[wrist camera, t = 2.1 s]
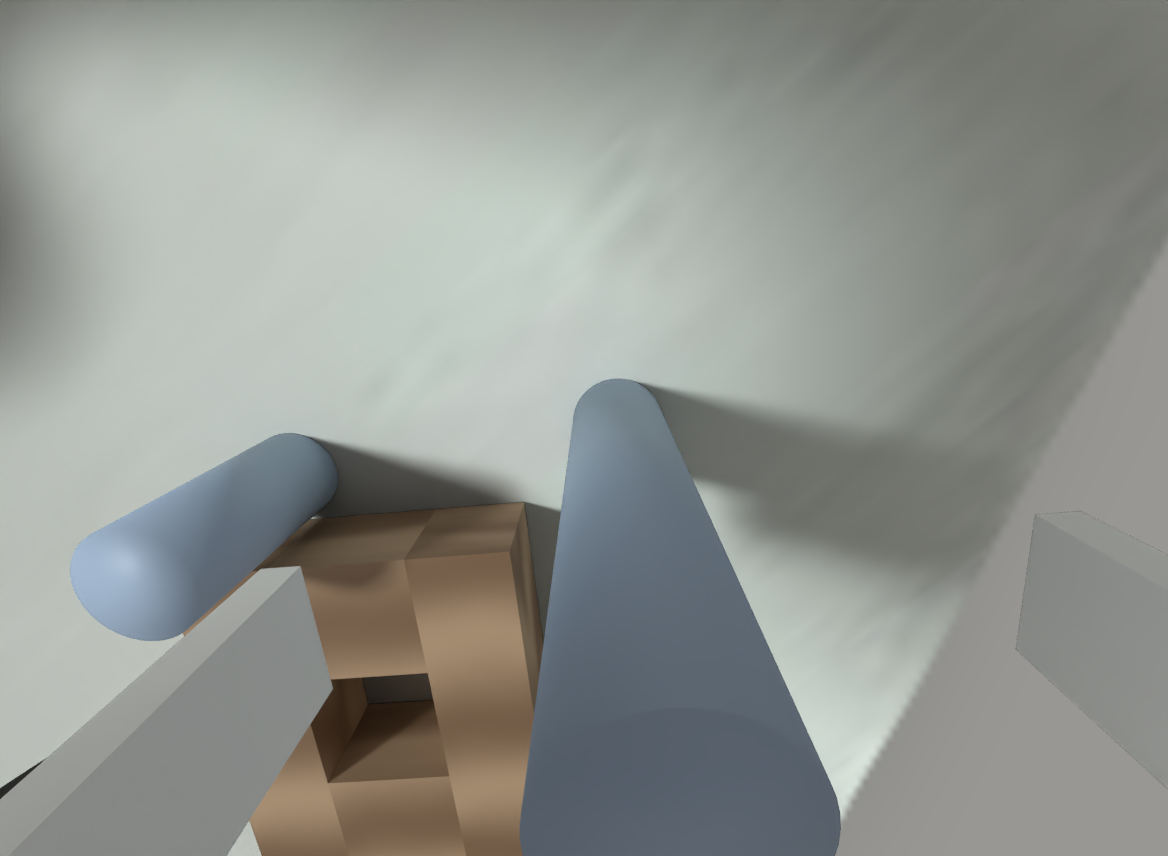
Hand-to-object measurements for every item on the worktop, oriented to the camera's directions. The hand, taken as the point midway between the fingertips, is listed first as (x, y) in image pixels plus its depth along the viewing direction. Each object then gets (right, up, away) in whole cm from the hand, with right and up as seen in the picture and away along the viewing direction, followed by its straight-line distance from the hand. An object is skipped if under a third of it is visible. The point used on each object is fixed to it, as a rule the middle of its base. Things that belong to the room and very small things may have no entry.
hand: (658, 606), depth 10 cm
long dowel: (0, +3, +11) cm, 12 cm away
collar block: (-9, -7, +14) cm, 18 cm away
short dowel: (-13, +1, +12) cm, 18 cm away
